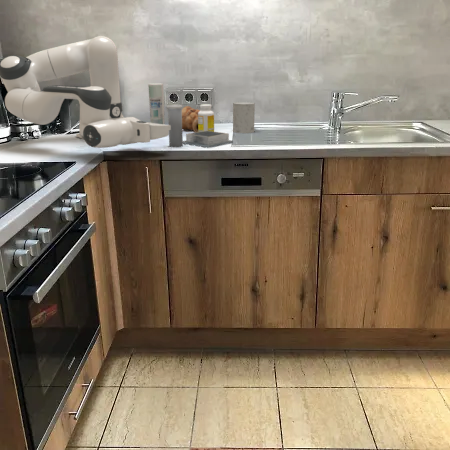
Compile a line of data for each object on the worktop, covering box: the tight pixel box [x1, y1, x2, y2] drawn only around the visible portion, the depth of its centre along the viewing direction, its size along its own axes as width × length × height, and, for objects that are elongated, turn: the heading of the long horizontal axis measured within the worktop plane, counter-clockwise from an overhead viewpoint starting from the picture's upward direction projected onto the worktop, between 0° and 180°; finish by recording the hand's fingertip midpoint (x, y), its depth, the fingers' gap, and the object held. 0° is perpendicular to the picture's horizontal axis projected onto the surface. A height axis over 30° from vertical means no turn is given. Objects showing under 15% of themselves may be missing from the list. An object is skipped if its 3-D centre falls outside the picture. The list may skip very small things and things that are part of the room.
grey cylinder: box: [232, 101, 256, 134], centre depth 219 cm, size 10×10×12 cm
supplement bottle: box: [198, 103, 215, 132], centre depth 206 cm, size 7×7×13 cm
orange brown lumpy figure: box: [182, 105, 201, 133], centre depth 220 cm, size 19×11×15 cm
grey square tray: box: [183, 130, 234, 149], centre depth 192 cm, size 14×14×4 cm
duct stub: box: [166, 103, 184, 148], centre depth 185 cm, size 5×5×15 cm
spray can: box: [147, 83, 166, 125], centre depth 223 cm, size 6×6×20 cm
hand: (160, 126), depth 179 cm, fingers open, 8 cm apart
